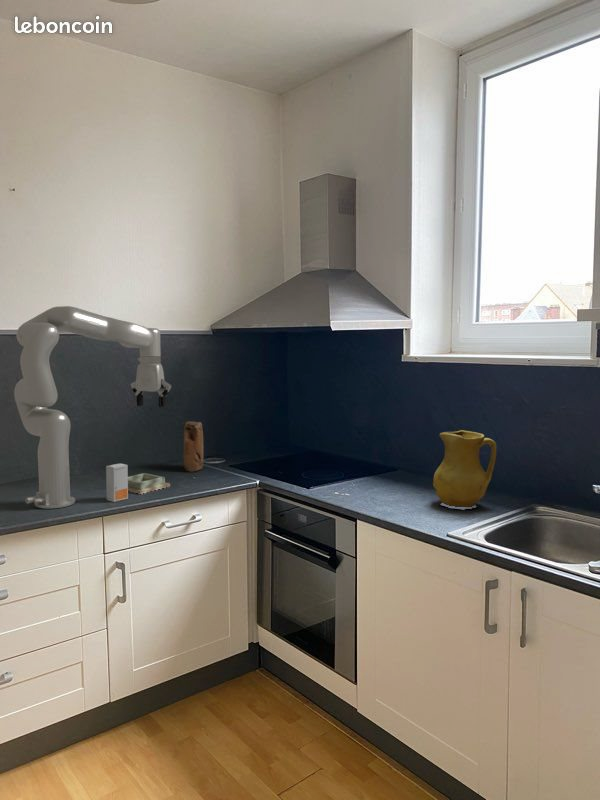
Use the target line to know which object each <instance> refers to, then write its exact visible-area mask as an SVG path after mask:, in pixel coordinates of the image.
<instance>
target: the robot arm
mask: <svg viewBox="0 0 600 800" xmlns="http://www.w3.org/2000/svg"><path fill="white" fill-rule="evenodd" d="M62 332H64V333H65V332H67V333H71V334H75V335H79V336H83V337H85V338H86V337H87V338H90V339H94V340H97V341H103V342H104V341H105V342H118V343H119V344H120V345H121V346H122V347H124V348H129V349H134V348H135V349H139V357H137V361H138V362H139V364H138V365H137V370H136V374H135V375H136V378H135V380H134V381H133V382H131V383H130V388H131V389H132V391H133V393H134V395H135V396H136V406H137V407H141V406H144V395H143V393H144V392H157V393H158V395H159V397H158V407H159V408H165V407H166V397H167V396H168V394H169V393H170V390H171V389H172V384H170V383H168V382H167V381H166V380H165V373H164V368H163V365H162V364H161V362H162V361H161V360H162V359H161V354H162V353H161V350H162V349H161V330H160V329H159V328H156V327H155V328H154V327H146V326H144V325H140V324H137V323H134V322H130V321H126V320H123V319H122V320H120V319H118V318H117V319H116V318H114V317H108V316H106V315H105V316H104V315H101V314H97V313H94V312H91V311H89V310H86V309H82V308H78V307H75V306H69V305H66V306H54V307H51V308H49V309H46V310H45V311H43V312H41V313H39V314H37V315H36V316H35V317H33V318H31V319H29V320H27V321H25V322H24V323H22V324H21V325H20V326H19V327H18V329H17V331H16V333H15V334H16V339H17V342H18V344H20V346H22V347H23V349H22V351H21V354H20V360H19V361H20V362H19V365H20V369H21V373H22V378H21V379H19V381H17V382H16V384H15V386H14V396H13V397H14V401H15V404H16V407H17V411H18V414H19V417H20V419H21V423H22V425H23V428H24V429H25V430H26V432H28V434H30V435H33V436H36V437H40V438H39V441H38V442H39V443H38V447H37V463H38V464H37V465H38V469H37V470H38V491H36V492H35V495H34V496H30V497H29V496H28V497H25V500H24V501H25V504H27V505H29V504H32V503H33V504H34V506H35V507H36V508H40V509H44V510H45V509H59V508H60V509H61V508H65V507H69V506H72V505H73V504H75V503H76V498H75V497H73V496H71V487H70V485H71V483H70V459H69V458H70V457H69V456H70V455H69V452H70V450H69V445H70V442H69V440H70V434H71V426H72V425H71V420H70V418H69V417H68V415H67V414H66V413H64V412H63V411H61V410H58V409H52V408H49V407H51V406H54V405H55V404H56V402H57V400H58V398H59V397H58V396H59V395H58V390H57V389H58V388H57V387H56V383H55V380H54V376H53V373H52V370H51V366H50V356H51V353H52V351H53V349H54V348H55V347H56V345H57V344H58V342H59V339H60V333H62Z"/></svg>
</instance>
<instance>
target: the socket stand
mask: <svg viewBox="0 0 600 800" xmlns="http://www.w3.org/2000/svg"><path fill="white" fill-rule="evenodd" d="M166 487H167V488H170V487H171V483H170V482H166V477H165V476H162V475H161V476H160V475H157V474H156V475H155V474H151V473H147V472H143V473H139V474H134V475H130V476H129V475H128V491H129V492H128V493H132V492H133V494H136V493H138V494H137V495H140V494H141V495H143V493H144V494H147V492H148V493H151V492H150V491H152V492H155V491H154V490H156V491H158V489H160V490H163V489H162V488H164V489H167V488H166Z"/></svg>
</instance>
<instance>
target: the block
mask: <svg viewBox="0 0 600 800" xmlns="http://www.w3.org/2000/svg"><path fill="white" fill-rule="evenodd" d="M183 429H184V430H183V466H184V469H185V471H186V472H192V473H193V472H198V471H200V470H202V469H203V467H204V431H203V424H202V422H201V421H186V422H185V423H184V428H183Z"/></svg>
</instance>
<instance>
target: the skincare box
mask: <svg viewBox="0 0 600 800" xmlns="http://www.w3.org/2000/svg"><path fill="white" fill-rule="evenodd" d="M128 467H129V466H128V464H125V463H115V464H114V463H113V464H111V465H106V466H105V470H106V471H105V477H106V480H105V483H106V500H107V501H108V502H113V503H115V502H119V501H123V500H129V492H128V477H129V473H128V472H129V471H128Z"/></svg>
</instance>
